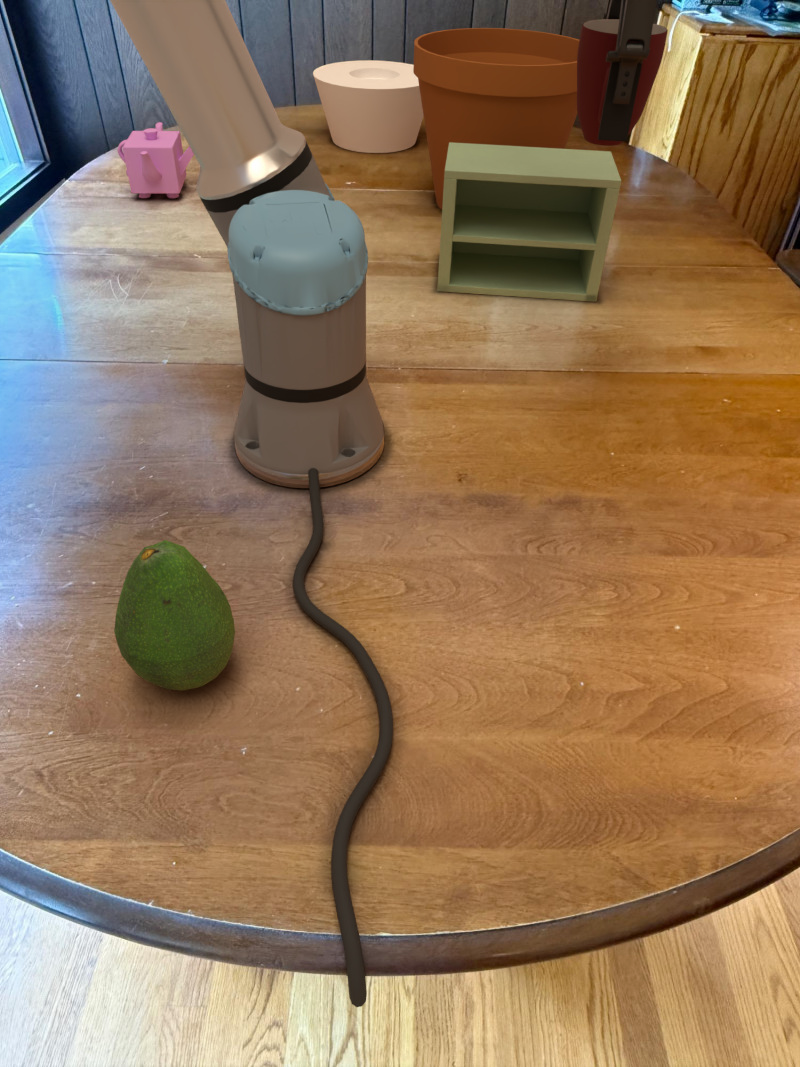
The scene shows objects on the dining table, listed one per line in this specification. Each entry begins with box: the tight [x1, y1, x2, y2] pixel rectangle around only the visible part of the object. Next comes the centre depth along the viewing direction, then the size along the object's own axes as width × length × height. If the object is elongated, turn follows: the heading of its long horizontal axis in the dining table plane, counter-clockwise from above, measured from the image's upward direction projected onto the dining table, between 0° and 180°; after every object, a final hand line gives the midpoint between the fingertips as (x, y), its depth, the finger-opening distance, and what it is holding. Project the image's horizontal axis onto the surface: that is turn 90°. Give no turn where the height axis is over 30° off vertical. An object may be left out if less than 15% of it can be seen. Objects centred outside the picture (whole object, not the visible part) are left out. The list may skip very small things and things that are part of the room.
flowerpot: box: [413, 27, 580, 210], centre depth 126 cm, size 28×28×24 cm
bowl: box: [312, 59, 424, 154], centre depth 156 cm, size 24×24×12 cm
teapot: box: [117, 121, 195, 199], centre depth 130 cm, size 18×13×10 cm
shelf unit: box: [436, 142, 622, 303], centre depth 106 cm, size 12×22×16 cm, turn 85°
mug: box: [577, 18, 669, 147], centre depth 76 cm, size 10×8×10 cm
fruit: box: [113, 539, 236, 691], centre depth 54 cm, size 8×8×12 cm
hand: (607, 123), depth 78 cm, fingers closed on mug, 10 cm apart
